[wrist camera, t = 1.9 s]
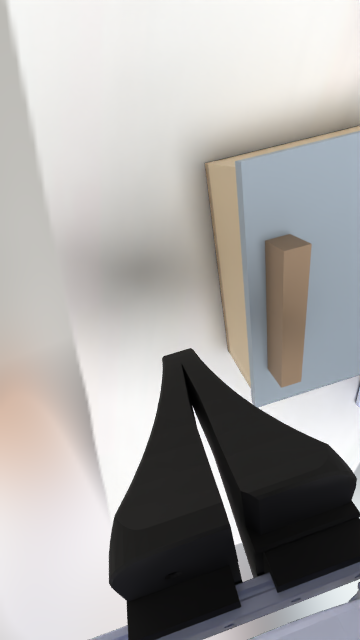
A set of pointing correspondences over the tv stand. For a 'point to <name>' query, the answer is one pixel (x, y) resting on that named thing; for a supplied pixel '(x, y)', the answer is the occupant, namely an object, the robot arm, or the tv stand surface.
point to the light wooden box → (236, 245)
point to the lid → (301, 265)
